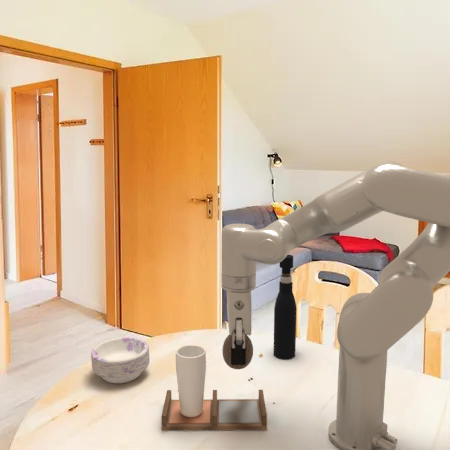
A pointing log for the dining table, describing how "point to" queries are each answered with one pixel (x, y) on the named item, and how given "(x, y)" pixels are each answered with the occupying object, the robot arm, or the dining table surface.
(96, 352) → the paper bowls
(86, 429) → the dining table surface
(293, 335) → the wine bottle
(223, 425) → the slot rack
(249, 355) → the vase
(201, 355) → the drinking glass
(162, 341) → the dining table surface
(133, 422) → the dining table surface
